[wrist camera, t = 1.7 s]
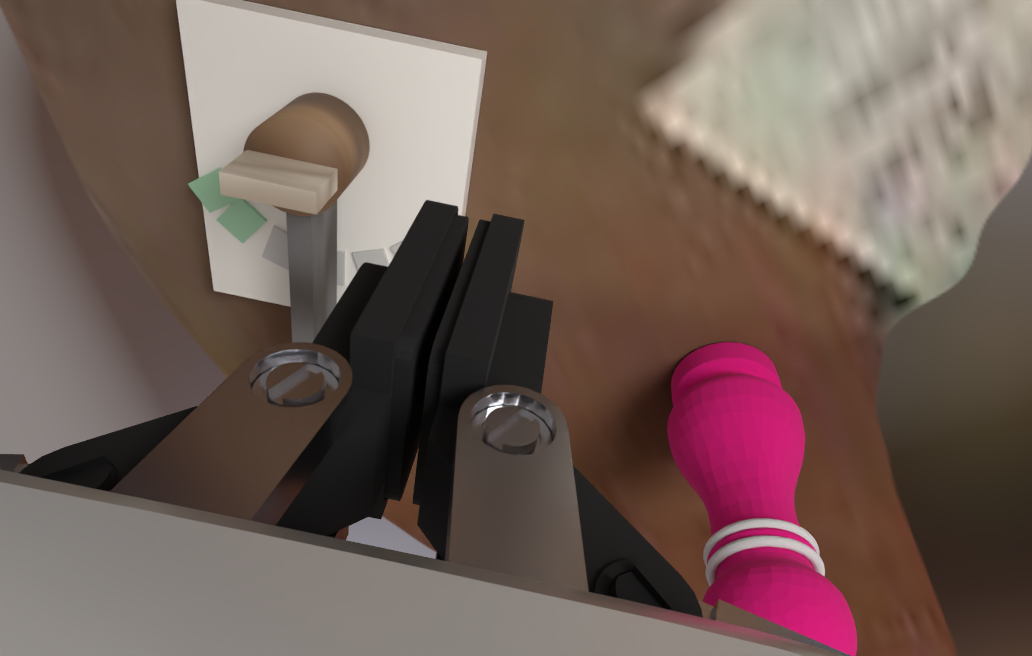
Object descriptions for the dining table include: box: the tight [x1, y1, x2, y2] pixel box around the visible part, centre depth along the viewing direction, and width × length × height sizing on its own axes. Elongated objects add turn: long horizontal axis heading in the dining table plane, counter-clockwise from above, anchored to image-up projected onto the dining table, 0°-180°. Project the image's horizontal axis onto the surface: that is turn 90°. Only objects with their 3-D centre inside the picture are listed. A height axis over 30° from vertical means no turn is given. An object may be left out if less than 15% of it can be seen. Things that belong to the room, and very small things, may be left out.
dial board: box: [176, 0, 487, 307], centre depth 34 cm, size 16×15×2 cm
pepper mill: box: [667, 342, 857, 656], centre depth 32 cm, size 7×7×20 cm
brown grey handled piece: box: [218, 92, 370, 343], centre depth 32 cm, size 16×4×6 cm, turn 170°
